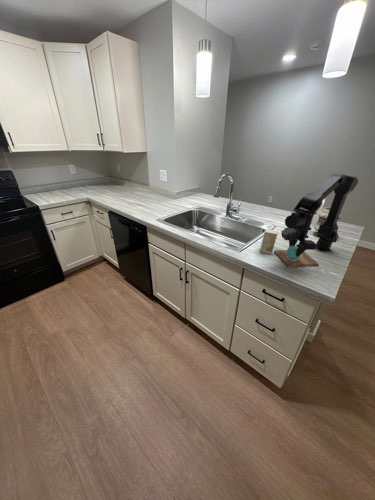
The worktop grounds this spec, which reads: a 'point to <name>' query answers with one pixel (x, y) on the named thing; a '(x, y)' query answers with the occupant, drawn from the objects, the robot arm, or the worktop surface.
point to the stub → (292, 259)
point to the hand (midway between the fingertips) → (293, 253)
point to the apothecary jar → (322, 218)
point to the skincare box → (268, 241)
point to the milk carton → (316, 216)
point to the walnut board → (302, 261)
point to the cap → (292, 251)
